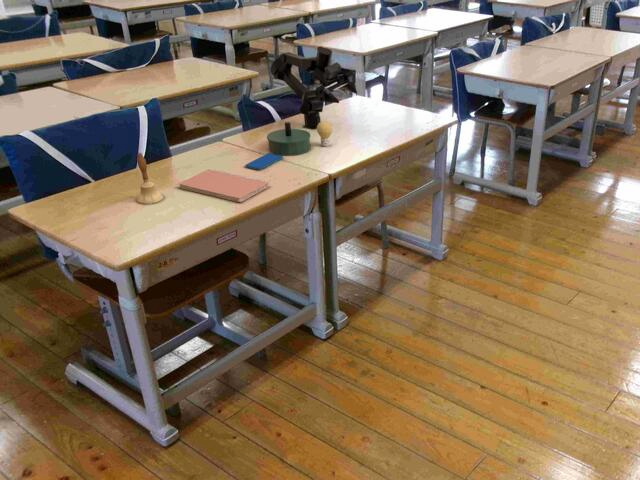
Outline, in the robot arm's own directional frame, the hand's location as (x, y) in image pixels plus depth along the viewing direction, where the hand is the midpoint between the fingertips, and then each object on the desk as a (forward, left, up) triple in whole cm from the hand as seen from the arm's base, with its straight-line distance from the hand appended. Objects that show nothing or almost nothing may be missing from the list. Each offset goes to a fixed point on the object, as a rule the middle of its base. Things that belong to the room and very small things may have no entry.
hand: (347, 97), depth 258 cm
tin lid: (-15, -21, -13) cm, 29 cm away
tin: (-15, -21, -18) cm, 32 cm away
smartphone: (-13, -39, -18) cm, 45 cm away
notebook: (-9, -65, -18) cm, 69 cm away
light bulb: (-5, -10, -18) cm, 22 cm away
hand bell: (-23, -86, -18) cm, 91 cm away
